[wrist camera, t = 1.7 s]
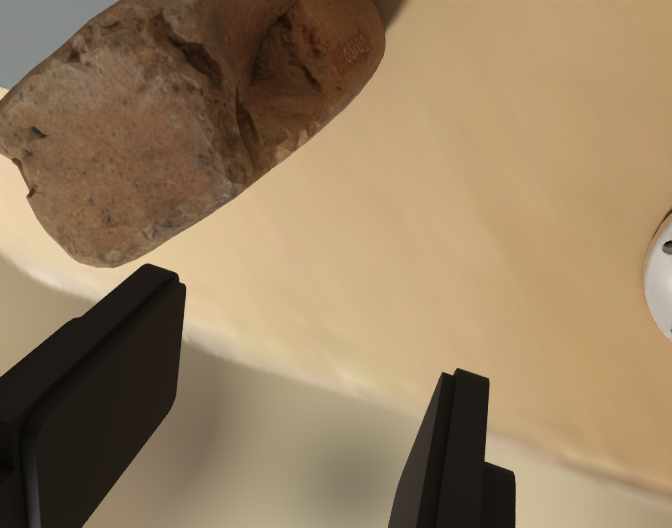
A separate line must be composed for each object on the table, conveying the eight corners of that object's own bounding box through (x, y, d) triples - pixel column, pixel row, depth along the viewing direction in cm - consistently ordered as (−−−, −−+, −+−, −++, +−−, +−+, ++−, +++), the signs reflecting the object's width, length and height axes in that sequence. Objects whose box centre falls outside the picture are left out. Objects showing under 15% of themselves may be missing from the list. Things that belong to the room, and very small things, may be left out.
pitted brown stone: (260, 142, 38) (74, 306, 21) (193, 33, 36) (-78, 119, 19) (411, 56, 34) (331, 175, 17) (345, -74, 32) (173, -93, 14)
